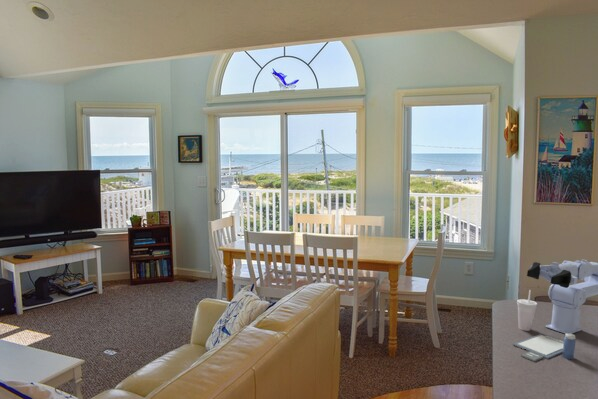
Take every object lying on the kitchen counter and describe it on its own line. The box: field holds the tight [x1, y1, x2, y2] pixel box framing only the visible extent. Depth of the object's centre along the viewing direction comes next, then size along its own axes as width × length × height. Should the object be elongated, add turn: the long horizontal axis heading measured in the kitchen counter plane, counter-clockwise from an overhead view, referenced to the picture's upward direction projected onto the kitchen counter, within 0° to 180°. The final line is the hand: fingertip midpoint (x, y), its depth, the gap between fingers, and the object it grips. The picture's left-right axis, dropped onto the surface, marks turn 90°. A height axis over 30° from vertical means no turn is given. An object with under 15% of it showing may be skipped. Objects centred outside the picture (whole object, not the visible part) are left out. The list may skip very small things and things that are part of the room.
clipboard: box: [512, 334, 564, 360], centre depth 145 cm, size 16×11×1 cm
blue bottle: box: [561, 333, 577, 360], centre depth 138 cm, size 3×3×7 cm
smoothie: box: [516, 289, 538, 332], centre depth 159 cm, size 6×6×14 cm
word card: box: [520, 351, 544, 362], centre depth 137 cm, size 5×4×1 cm
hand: (539, 276), depth 147 cm, fingers open, 7 cm apart
